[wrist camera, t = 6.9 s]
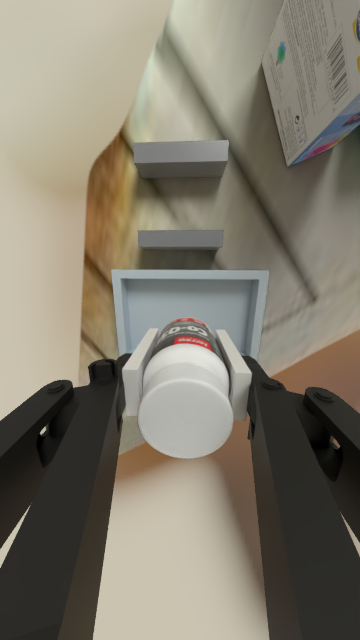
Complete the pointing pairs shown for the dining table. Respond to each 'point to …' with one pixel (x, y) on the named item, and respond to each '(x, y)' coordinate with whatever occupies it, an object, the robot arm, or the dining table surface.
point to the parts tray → (190, 303)
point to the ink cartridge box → (314, 75)
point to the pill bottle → (185, 392)
